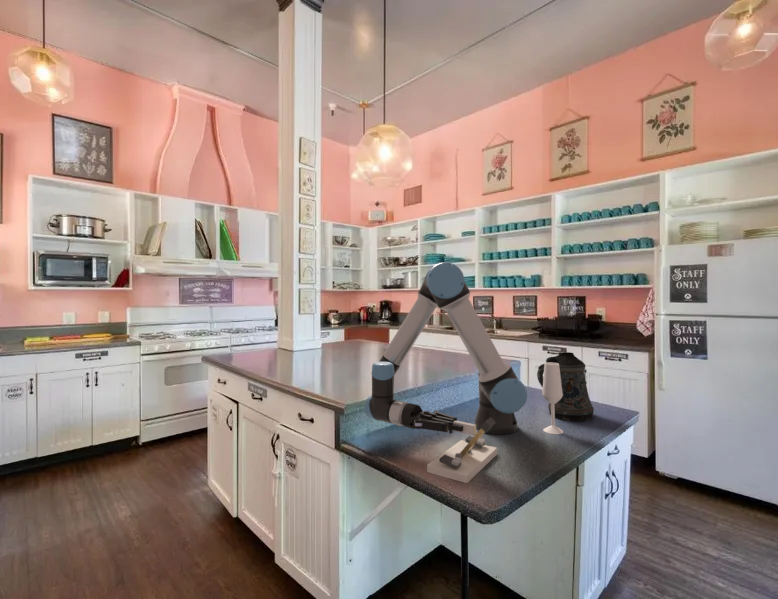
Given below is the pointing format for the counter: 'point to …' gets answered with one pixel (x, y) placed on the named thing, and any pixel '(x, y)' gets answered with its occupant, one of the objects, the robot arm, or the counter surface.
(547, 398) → the champagne flute
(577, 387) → the beer stein
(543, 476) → the counter surface
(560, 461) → the counter surface
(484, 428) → the brass lever
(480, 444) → the block
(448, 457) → the block
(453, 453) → the switch panel
